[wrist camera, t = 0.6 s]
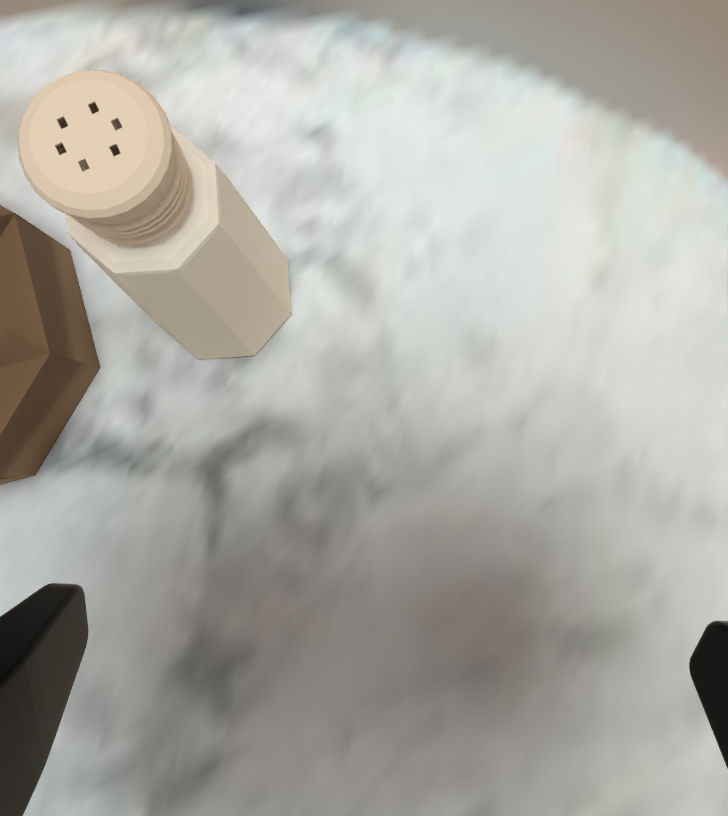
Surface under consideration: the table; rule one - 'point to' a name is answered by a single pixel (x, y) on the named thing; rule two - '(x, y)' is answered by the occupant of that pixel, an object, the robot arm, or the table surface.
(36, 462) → the ring holder
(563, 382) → the table surface
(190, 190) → the pepper shaker
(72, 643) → the robot arm
